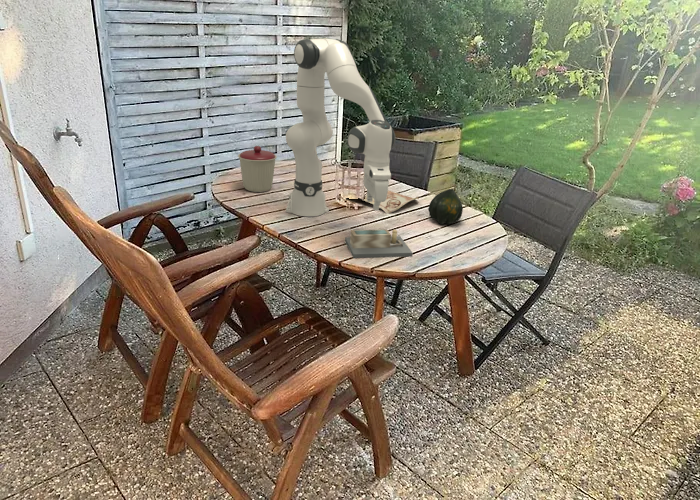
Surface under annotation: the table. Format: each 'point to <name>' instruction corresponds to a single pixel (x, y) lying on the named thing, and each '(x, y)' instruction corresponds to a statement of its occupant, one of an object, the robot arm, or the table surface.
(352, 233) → the frame
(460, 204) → the squash
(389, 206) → the poster
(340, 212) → the table surface
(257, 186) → the canister
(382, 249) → the board
